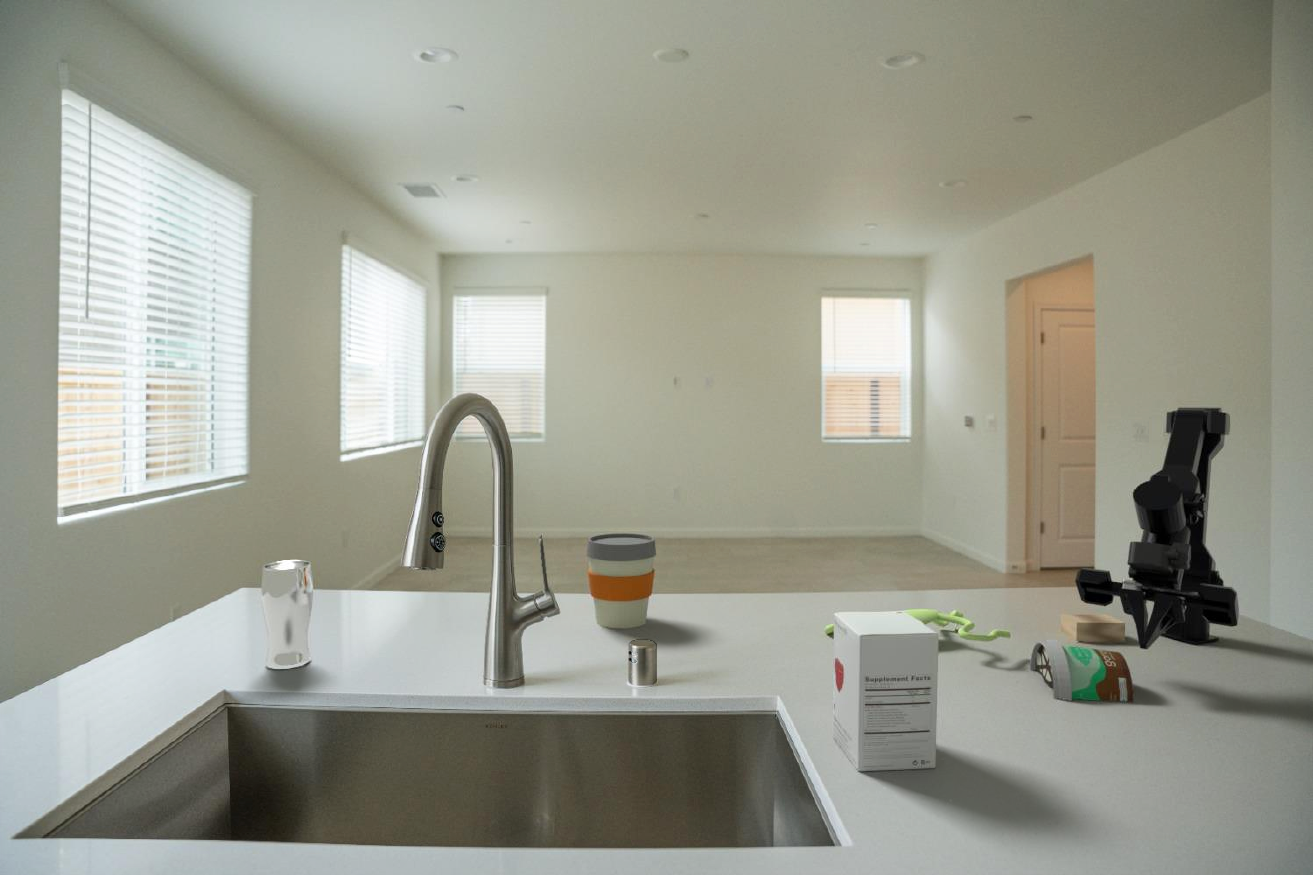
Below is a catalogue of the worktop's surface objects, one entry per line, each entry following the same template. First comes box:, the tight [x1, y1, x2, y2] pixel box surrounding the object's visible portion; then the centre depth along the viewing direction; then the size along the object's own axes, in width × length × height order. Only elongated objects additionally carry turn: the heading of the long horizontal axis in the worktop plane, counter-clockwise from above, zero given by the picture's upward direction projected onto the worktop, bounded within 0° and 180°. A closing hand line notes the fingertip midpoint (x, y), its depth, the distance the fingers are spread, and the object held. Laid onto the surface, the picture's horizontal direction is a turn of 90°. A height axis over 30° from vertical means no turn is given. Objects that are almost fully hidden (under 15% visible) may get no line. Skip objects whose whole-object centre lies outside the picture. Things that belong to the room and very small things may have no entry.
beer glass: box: [260, 559, 314, 666], centre depth 114 cm, size 7×7×15 cm
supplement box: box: [832, 610, 939, 772], centre depth 85 cm, size 9×9×15 cm
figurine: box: [824, 608, 1011, 642], centre depth 124 cm, size 18×27×6 cm
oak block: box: [1060, 614, 1126, 643], centre depth 129 cm, size 8×5×4 cm, turn 90°
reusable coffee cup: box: [586, 532, 657, 629], centre depth 137 cm, size 13×13×15 cm
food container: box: [1029, 638, 1134, 703], centre depth 106 cm, size 12×6×10 cm
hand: (1143, 647), depth 102 cm, fingers closed
